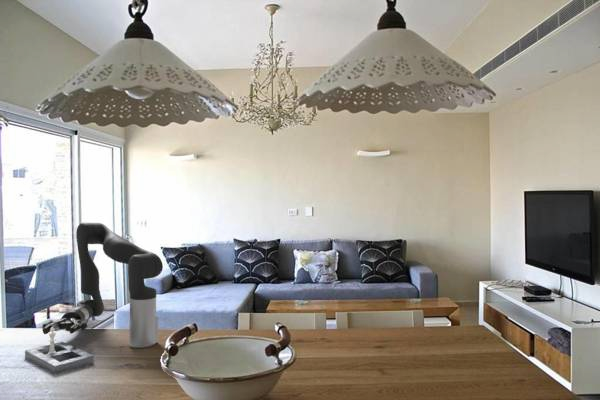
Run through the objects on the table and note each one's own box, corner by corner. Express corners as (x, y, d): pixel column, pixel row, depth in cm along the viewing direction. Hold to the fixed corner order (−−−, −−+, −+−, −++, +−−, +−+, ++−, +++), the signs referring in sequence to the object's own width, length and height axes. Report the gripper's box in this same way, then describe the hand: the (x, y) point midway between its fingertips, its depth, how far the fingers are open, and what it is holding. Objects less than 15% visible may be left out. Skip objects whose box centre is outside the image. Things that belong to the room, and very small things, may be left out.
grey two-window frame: (62, 348, 157) (62, 341, 157) (93, 363, 143) (93, 355, 143) (24, 357, 147) (25, 350, 147) (54, 374, 134) (55, 366, 134)
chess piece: (63, 354, 150) (63, 325, 151) (53, 360, 146) (54, 329, 146) (50, 354, 151) (50, 324, 151) (40, 359, 146) (40, 329, 146)
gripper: (55, 309, 168) (36, 320, 152) (95, 308, 170) (79, 319, 154) (55, 328, 168) (35, 342, 152) (94, 328, 170) (79, 341, 154)
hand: (58, 331), depth 153 cm, fingers open, 8 cm apart
